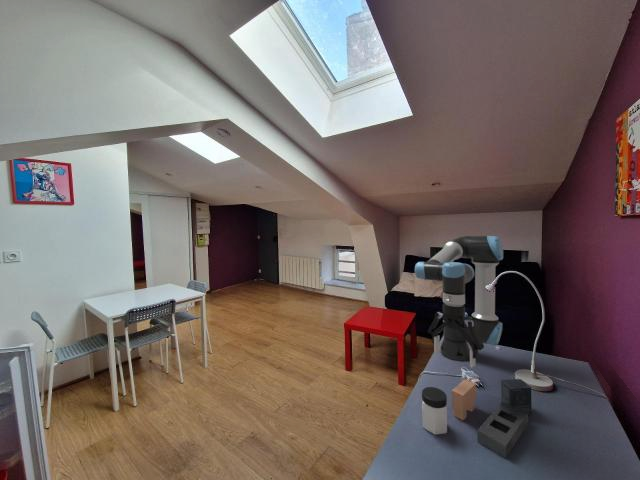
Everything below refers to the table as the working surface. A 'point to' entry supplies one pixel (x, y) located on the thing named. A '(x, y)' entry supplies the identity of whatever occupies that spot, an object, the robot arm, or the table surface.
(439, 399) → the jar
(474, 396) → the orange tan block
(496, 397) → the table surface
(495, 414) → the grey slotted block
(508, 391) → the box
